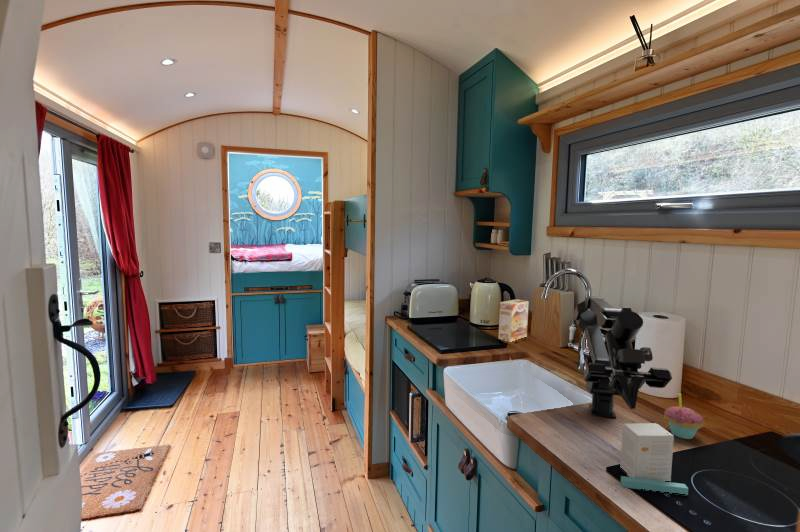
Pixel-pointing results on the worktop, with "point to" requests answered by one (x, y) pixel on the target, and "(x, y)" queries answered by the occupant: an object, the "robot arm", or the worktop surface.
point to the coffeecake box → (513, 320)
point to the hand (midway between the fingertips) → (632, 408)
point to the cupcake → (683, 420)
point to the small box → (647, 451)
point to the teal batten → (654, 485)
